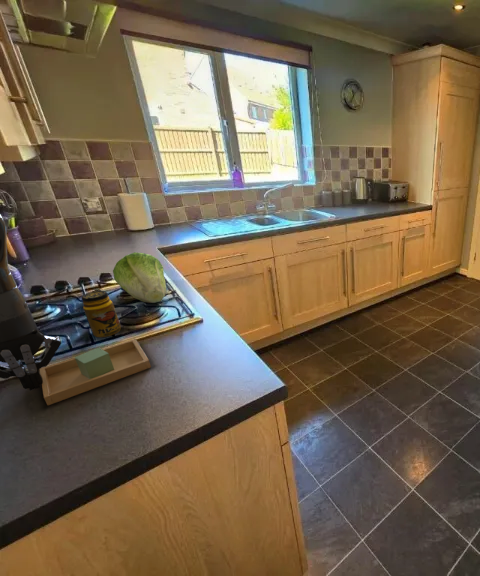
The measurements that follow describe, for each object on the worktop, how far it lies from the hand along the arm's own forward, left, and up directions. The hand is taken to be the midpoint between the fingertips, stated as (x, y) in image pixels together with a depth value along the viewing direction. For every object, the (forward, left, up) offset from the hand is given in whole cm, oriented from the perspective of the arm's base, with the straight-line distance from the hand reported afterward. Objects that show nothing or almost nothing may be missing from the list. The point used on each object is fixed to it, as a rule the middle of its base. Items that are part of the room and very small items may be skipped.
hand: (34, 387), depth 67 cm
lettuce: (+29, +40, -2) cm, 50 cm away
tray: (+10, 0, -2) cm, 10 cm away
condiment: (+14, +20, -2) cm, 25 cm away
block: (+10, 0, -2) cm, 10 cm away
